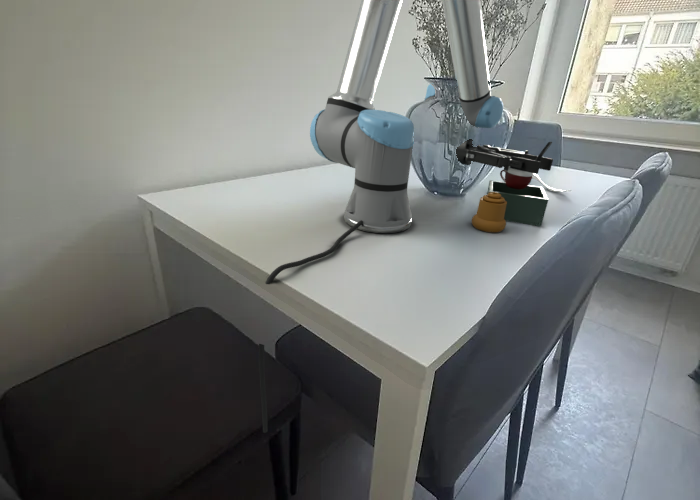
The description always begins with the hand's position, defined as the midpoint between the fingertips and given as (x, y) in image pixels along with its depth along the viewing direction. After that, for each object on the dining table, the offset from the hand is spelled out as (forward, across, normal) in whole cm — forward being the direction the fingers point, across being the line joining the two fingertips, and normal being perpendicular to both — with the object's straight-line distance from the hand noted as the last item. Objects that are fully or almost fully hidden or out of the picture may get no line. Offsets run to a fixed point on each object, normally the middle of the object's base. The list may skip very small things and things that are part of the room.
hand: (544, 166), depth 90 cm
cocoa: (-5, 0, -7) cm, 8 cm away
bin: (-5, 0, -13) cm, 14 cm away
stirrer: (-13, -36, -14) cm, 41 cm away
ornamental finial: (-3, +14, -14) cm, 20 cm away
